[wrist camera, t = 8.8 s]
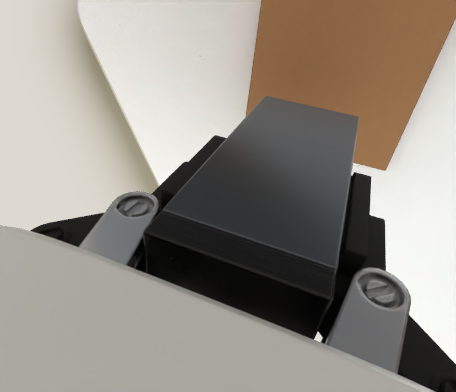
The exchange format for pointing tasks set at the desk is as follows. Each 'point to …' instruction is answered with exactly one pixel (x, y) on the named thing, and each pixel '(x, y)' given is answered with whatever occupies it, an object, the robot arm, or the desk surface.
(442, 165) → the desk surface
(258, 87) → the pad
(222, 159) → the tall lidded canister
